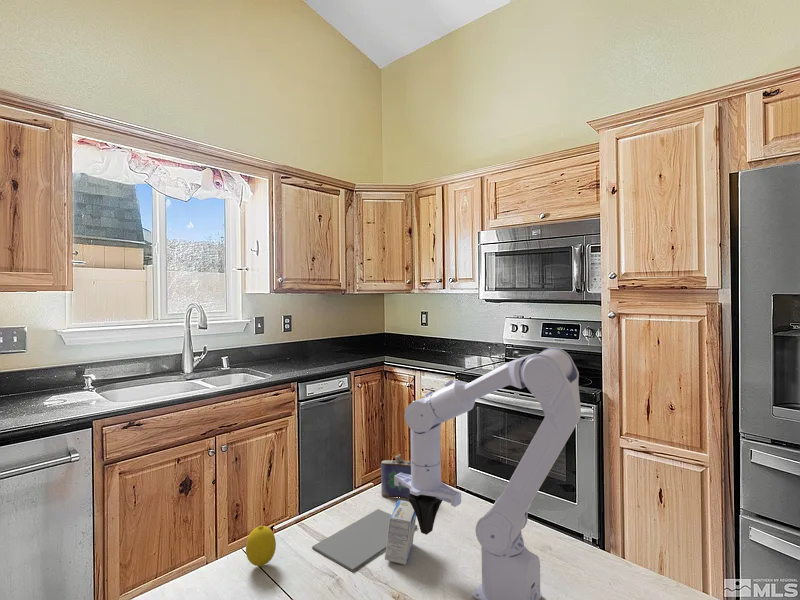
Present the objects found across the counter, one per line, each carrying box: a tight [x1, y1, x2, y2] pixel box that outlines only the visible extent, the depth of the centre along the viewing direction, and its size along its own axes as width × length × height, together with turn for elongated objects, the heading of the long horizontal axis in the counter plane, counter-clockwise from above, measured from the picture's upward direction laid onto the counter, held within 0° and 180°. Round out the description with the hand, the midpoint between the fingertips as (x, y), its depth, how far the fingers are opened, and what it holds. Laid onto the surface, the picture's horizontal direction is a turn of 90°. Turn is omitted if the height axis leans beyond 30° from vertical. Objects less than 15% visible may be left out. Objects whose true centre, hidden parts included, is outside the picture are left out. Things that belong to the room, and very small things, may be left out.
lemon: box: [245, 524, 277, 568], centre depth 85 cm, size 6×6×8 cm
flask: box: [380, 453, 411, 500], centre depth 114 cm, size 9×3×11 cm, turn 76°
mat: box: [311, 508, 418, 573], centre depth 95 cm, size 12×20×1 cm, turn 140°
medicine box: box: [384, 499, 417, 566], centre depth 89 cm, size 8×4×9 cm, turn 169°
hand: (426, 531), depth 84 cm, fingers closed
